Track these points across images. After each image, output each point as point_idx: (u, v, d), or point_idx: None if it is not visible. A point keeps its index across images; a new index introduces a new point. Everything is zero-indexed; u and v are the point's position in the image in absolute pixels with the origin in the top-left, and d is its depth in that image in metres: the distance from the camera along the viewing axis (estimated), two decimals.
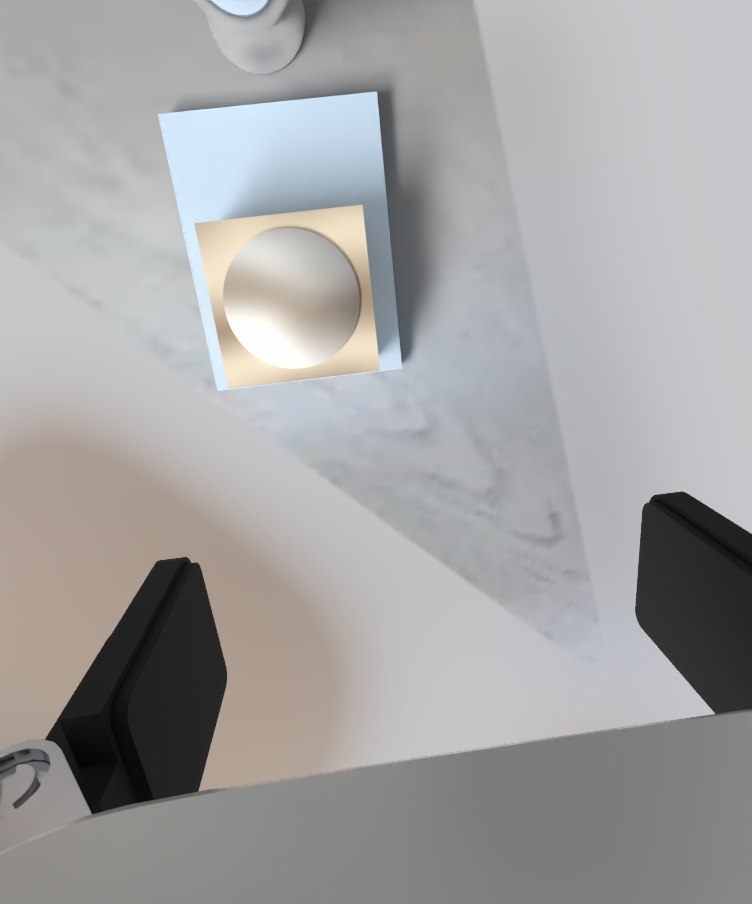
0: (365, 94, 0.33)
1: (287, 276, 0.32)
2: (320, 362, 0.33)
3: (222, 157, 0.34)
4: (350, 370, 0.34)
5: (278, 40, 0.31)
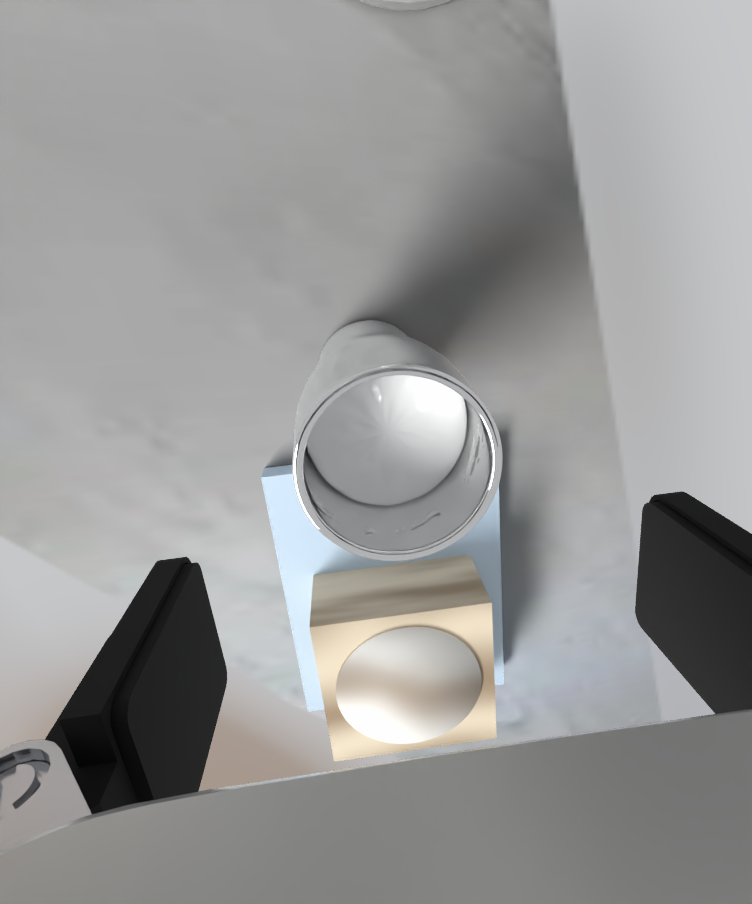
0: None
1: (406, 669, 0.29)
2: (434, 736, 0.31)
3: None
4: (465, 739, 0.32)
5: None
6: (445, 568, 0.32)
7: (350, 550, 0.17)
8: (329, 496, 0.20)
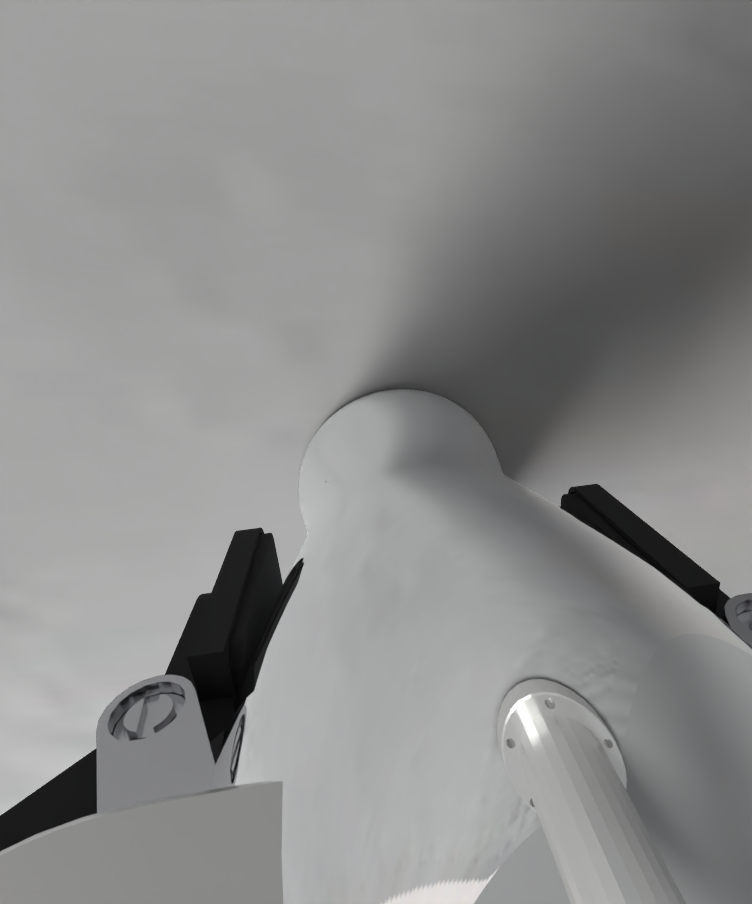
0: None
1: None
2: None
3: None
4: None
5: None
6: None
7: None
8: None
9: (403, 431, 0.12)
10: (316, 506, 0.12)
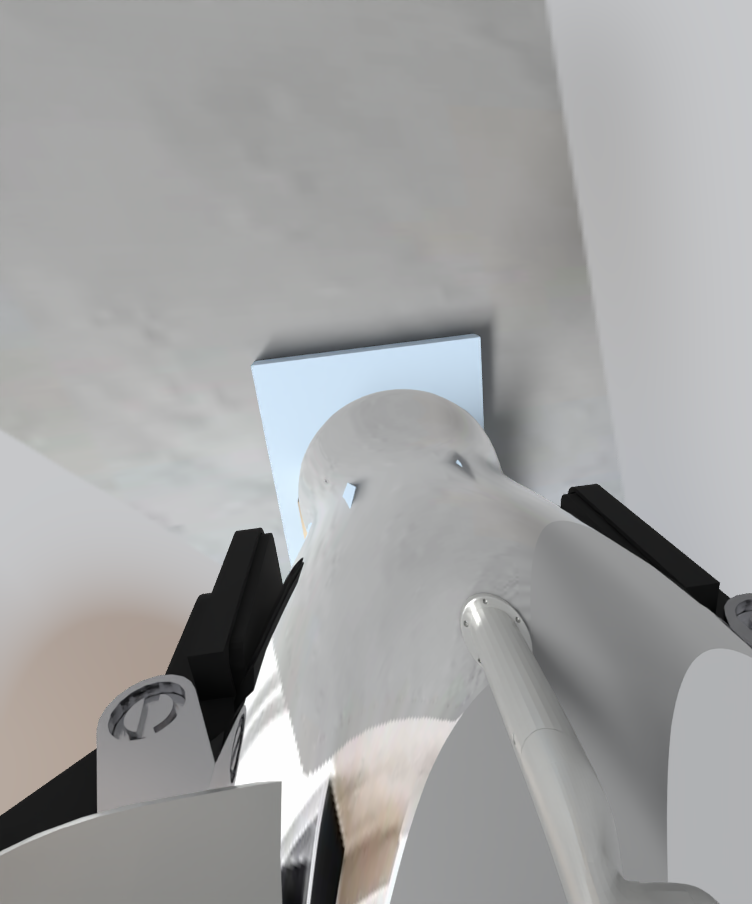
0: (468, 340, 0.31)
1: None
2: None
3: (316, 402, 0.32)
4: None
5: None
6: None
7: None
8: None
9: (403, 431, 0.12)
10: (316, 506, 0.12)
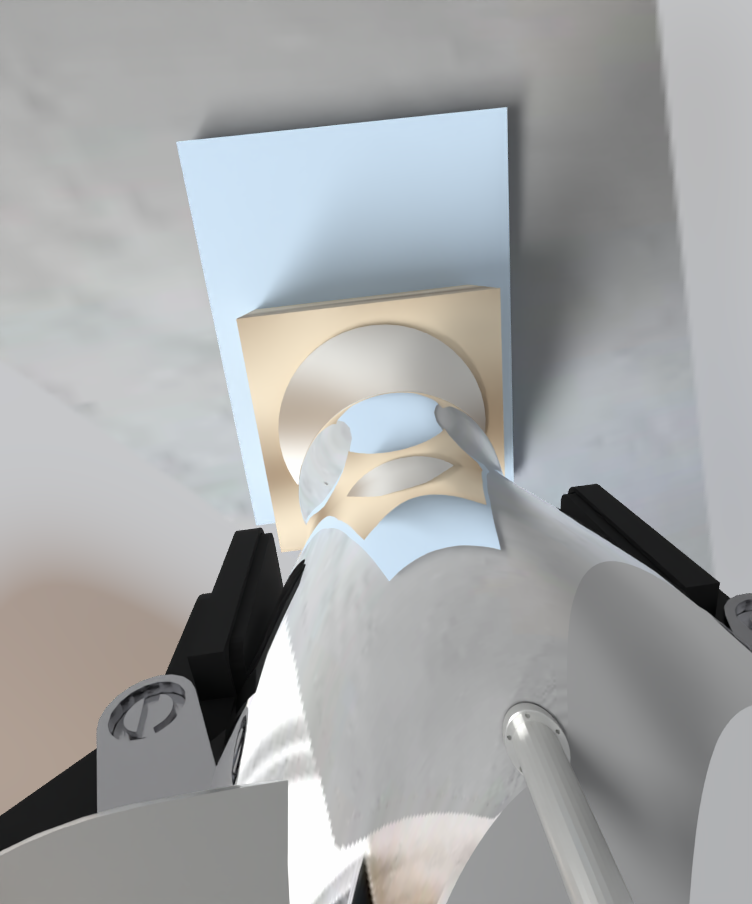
0: (489, 111, 0.22)
1: None
2: None
3: (272, 205, 0.23)
4: None
5: None
6: (435, 289, 0.23)
7: None
8: None
9: (403, 433, 0.12)
10: (316, 508, 0.12)
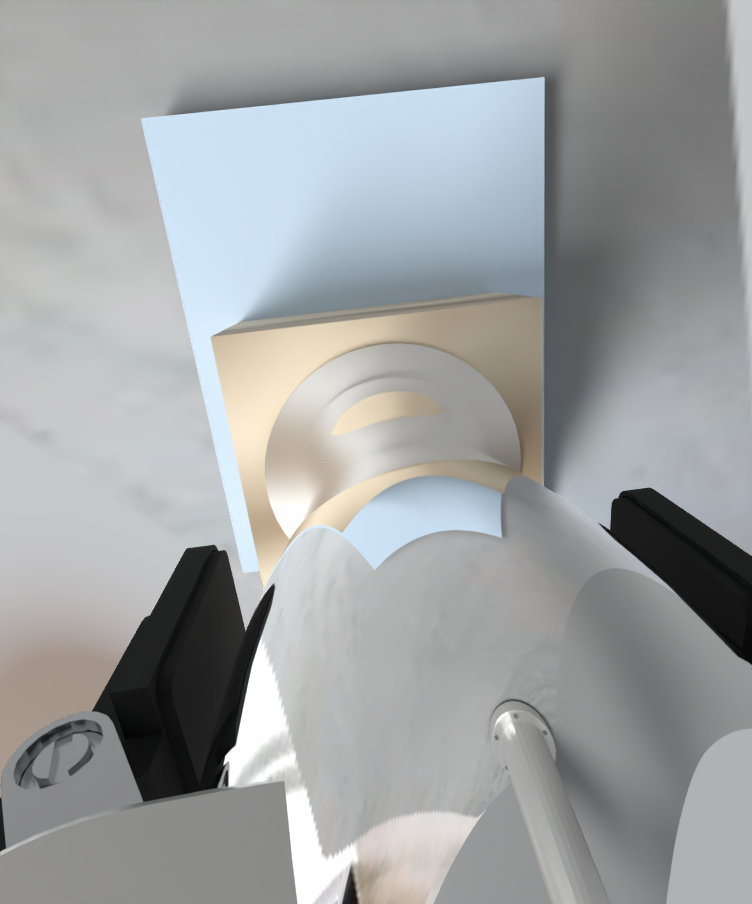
0: (523, 82, 0.18)
1: None
2: None
3: (259, 197, 0.19)
4: None
5: None
6: (455, 298, 0.19)
7: None
8: None
9: (397, 415, 0.13)
10: (316, 483, 0.13)
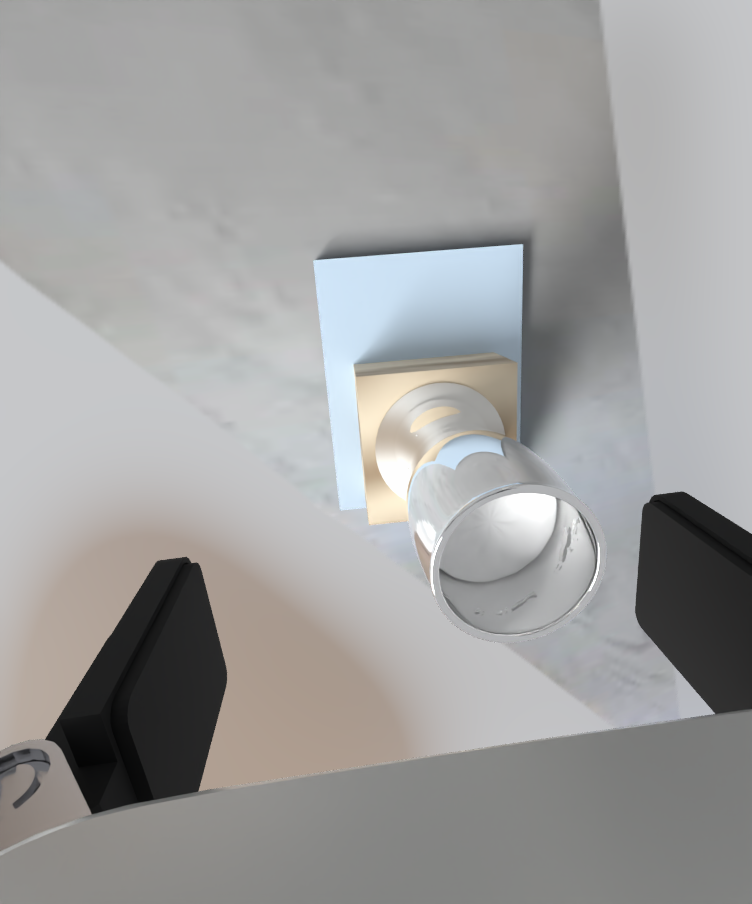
0: (512, 246, 0.34)
1: None
2: None
3: (370, 299, 0.35)
4: None
5: None
6: (473, 356, 0.35)
7: (471, 633, 0.19)
8: None
9: (449, 415, 0.29)
10: (414, 444, 0.29)
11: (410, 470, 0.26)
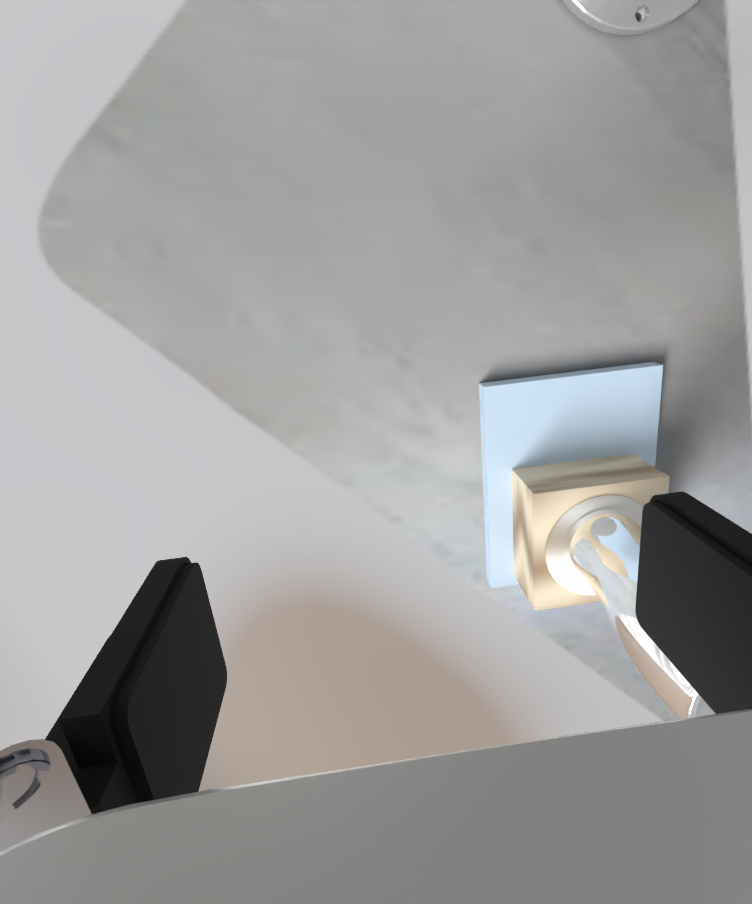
0: (653, 367, 0.40)
1: None
2: None
3: (529, 416, 0.40)
4: None
5: None
6: (618, 461, 0.41)
7: None
8: None
9: (624, 532, 0.35)
10: (598, 559, 0.34)
11: (613, 593, 0.31)
